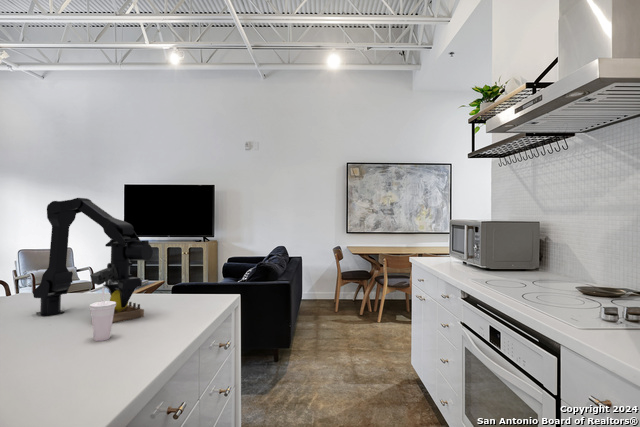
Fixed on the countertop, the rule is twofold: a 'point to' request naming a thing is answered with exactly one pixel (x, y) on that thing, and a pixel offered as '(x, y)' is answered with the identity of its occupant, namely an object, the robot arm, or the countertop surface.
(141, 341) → the countertop surface
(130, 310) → the tray
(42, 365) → the countertop surface
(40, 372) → the countertop surface
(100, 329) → the smoothie
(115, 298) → the lemon
